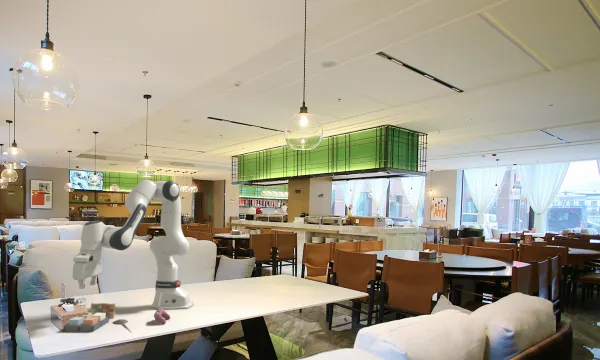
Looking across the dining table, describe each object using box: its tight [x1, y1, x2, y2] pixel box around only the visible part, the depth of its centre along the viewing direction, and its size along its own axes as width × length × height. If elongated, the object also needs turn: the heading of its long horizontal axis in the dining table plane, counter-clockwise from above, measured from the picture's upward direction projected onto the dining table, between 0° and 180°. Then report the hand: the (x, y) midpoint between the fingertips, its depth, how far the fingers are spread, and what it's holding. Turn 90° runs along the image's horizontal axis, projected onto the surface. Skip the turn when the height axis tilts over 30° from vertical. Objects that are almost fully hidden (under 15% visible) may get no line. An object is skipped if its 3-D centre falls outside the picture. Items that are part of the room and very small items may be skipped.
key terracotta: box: [83, 317, 98, 325], centre depth 159 cm, size 4×5×3 cm
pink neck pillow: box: [153, 309, 171, 325], centre depth 177 cm, size 10×5×7 cm, turn 5°
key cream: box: [91, 313, 106, 321], centre depth 166 cm, size 4×5×3 cm
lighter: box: [57, 297, 78, 307], centre depth 176 cm, size 8×3×10 cm, turn 145°
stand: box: [89, 302, 116, 319], centre depth 176 cm, size 12×4×8 cm, turn 93°
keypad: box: [63, 317, 110, 333], centre depth 162 cm, size 12×15×4 cm
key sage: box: [83, 312, 92, 319], centre depth 166 cm, size 4×5×3 cm
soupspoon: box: [112, 318, 133, 333], centre depth 165 cm, size 22×3×7 cm
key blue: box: [67, 316, 84, 325], centre depth 159 cm, size 4×5×3 cm
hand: (87, 286), depth 167 cm, fingers open, 8 cm apart
